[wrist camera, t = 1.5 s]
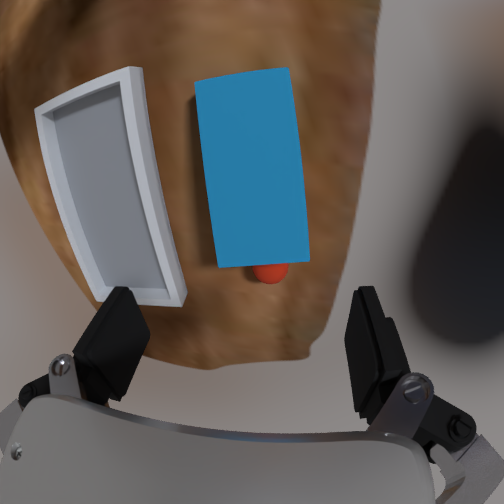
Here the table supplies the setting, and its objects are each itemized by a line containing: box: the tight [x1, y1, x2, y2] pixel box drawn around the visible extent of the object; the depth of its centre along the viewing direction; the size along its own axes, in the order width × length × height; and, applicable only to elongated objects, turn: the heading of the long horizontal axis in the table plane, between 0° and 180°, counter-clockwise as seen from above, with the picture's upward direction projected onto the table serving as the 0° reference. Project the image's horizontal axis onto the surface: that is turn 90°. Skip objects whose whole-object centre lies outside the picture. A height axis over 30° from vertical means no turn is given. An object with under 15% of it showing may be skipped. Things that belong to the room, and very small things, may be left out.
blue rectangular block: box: [195, 67, 310, 284], centre depth 22 cm, size 7×7×18 cm
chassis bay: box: [34, 66, 188, 307], centre depth 24 cm, size 24×12×2 cm, turn 5°
